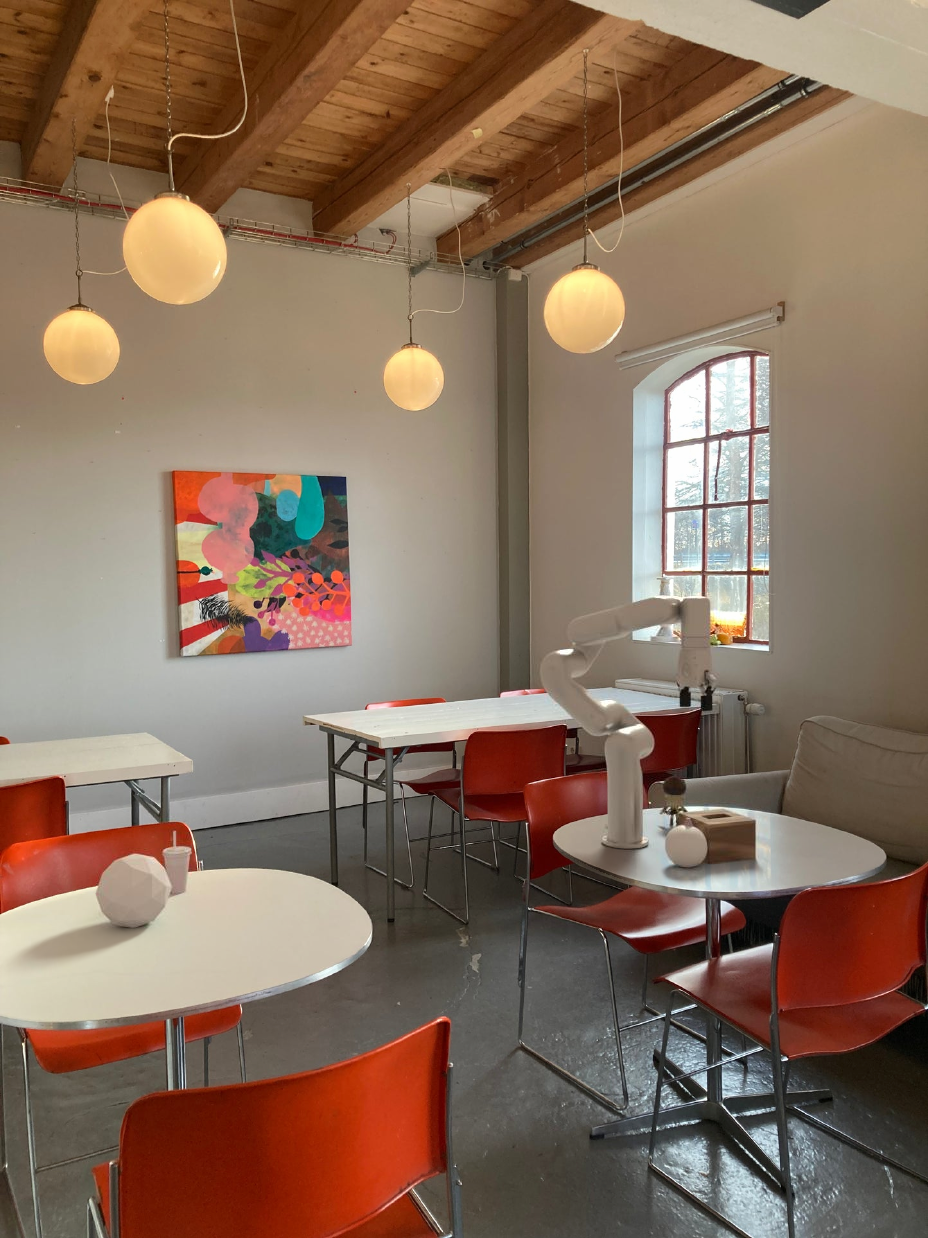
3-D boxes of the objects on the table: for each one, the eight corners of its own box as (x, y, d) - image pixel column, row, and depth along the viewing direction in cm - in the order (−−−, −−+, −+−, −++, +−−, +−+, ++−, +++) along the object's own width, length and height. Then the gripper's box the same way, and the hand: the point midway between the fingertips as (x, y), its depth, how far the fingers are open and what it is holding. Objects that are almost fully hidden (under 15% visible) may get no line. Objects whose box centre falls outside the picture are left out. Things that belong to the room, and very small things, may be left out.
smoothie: (170, 886, 215) (169, 827, 215) (196, 887, 214) (195, 828, 214) (158, 895, 208) (157, 834, 208) (185, 896, 208) (184, 835, 208)
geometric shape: (146, 941, 194) (184, 876, 200) (143, 939, 180) (184, 869, 187) (85, 910, 193) (126, 845, 199) (77, 906, 179) (121, 837, 186)
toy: (689, 823, 274) (689, 773, 274) (690, 828, 267) (690, 777, 267) (659, 821, 276) (659, 772, 276) (659, 827, 269) (659, 776, 269)
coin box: (678, 850, 244) (678, 812, 244) (723, 845, 249) (723, 808, 249) (709, 864, 231) (709, 824, 231) (755, 858, 236) (755, 820, 235)
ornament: (701, 860, 234) (701, 814, 234) (711, 872, 224) (711, 823, 224) (661, 860, 234) (661, 814, 234) (670, 872, 224) (669, 823, 224)
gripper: (665, 642, 246) (665, 706, 246) (702, 645, 230) (702, 713, 230) (689, 642, 249) (689, 704, 249) (727, 644, 232) (727, 711, 233)
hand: (695, 708), depth 240 cm, fingers open, 9 cm apart
